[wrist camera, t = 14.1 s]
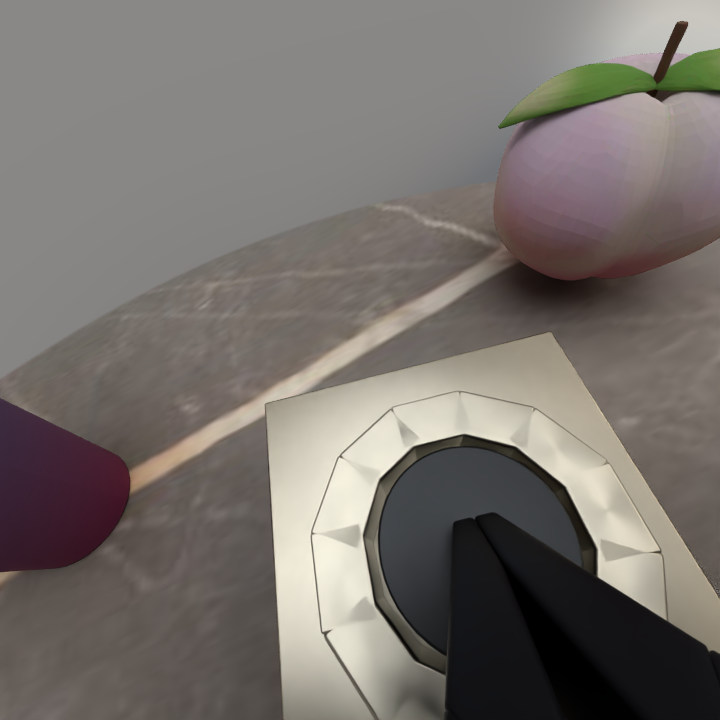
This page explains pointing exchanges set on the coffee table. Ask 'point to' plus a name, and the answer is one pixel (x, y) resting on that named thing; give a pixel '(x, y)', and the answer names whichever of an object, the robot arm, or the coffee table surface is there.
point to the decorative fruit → (614, 166)
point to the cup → (54, 493)
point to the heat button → (435, 525)
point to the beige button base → (380, 471)
